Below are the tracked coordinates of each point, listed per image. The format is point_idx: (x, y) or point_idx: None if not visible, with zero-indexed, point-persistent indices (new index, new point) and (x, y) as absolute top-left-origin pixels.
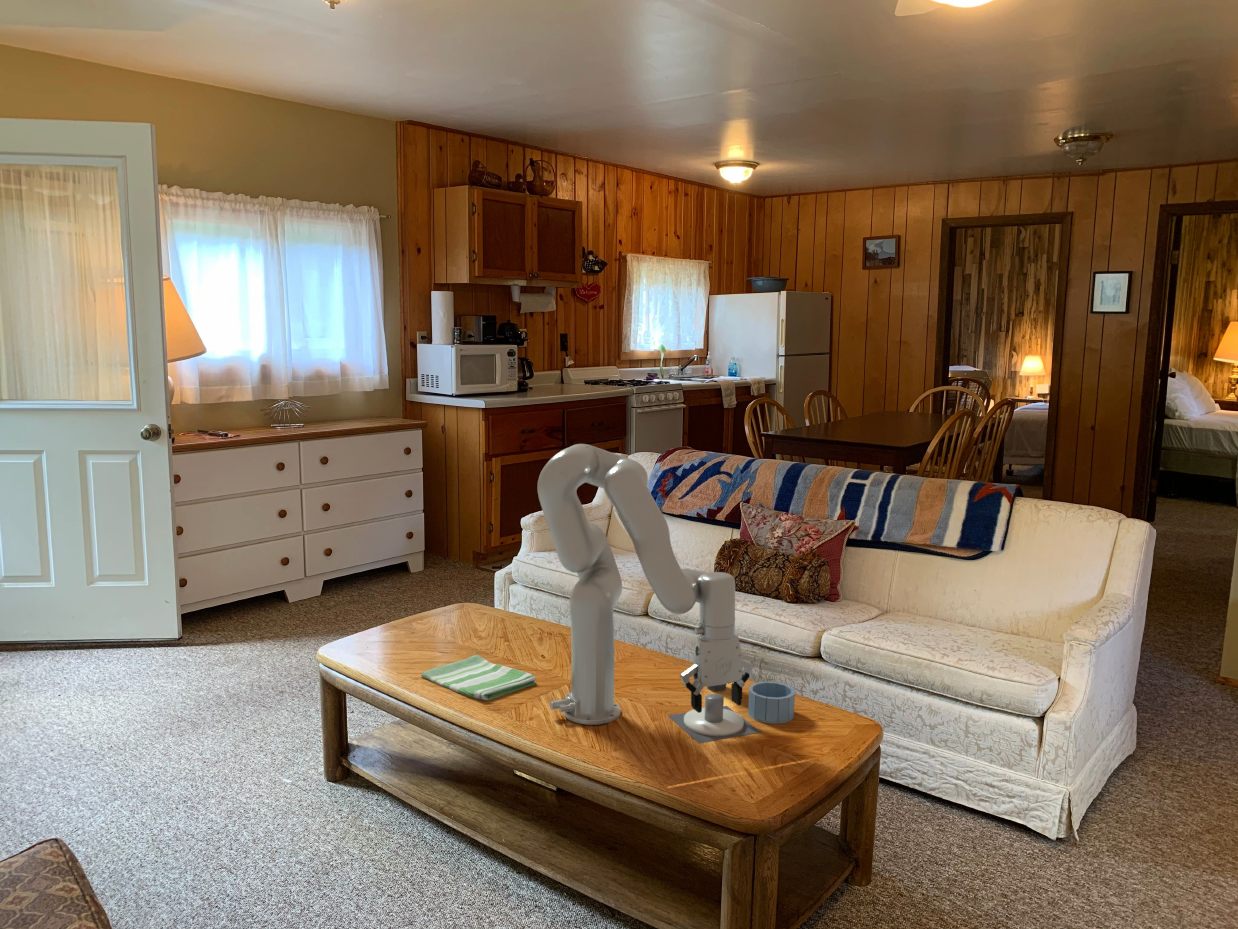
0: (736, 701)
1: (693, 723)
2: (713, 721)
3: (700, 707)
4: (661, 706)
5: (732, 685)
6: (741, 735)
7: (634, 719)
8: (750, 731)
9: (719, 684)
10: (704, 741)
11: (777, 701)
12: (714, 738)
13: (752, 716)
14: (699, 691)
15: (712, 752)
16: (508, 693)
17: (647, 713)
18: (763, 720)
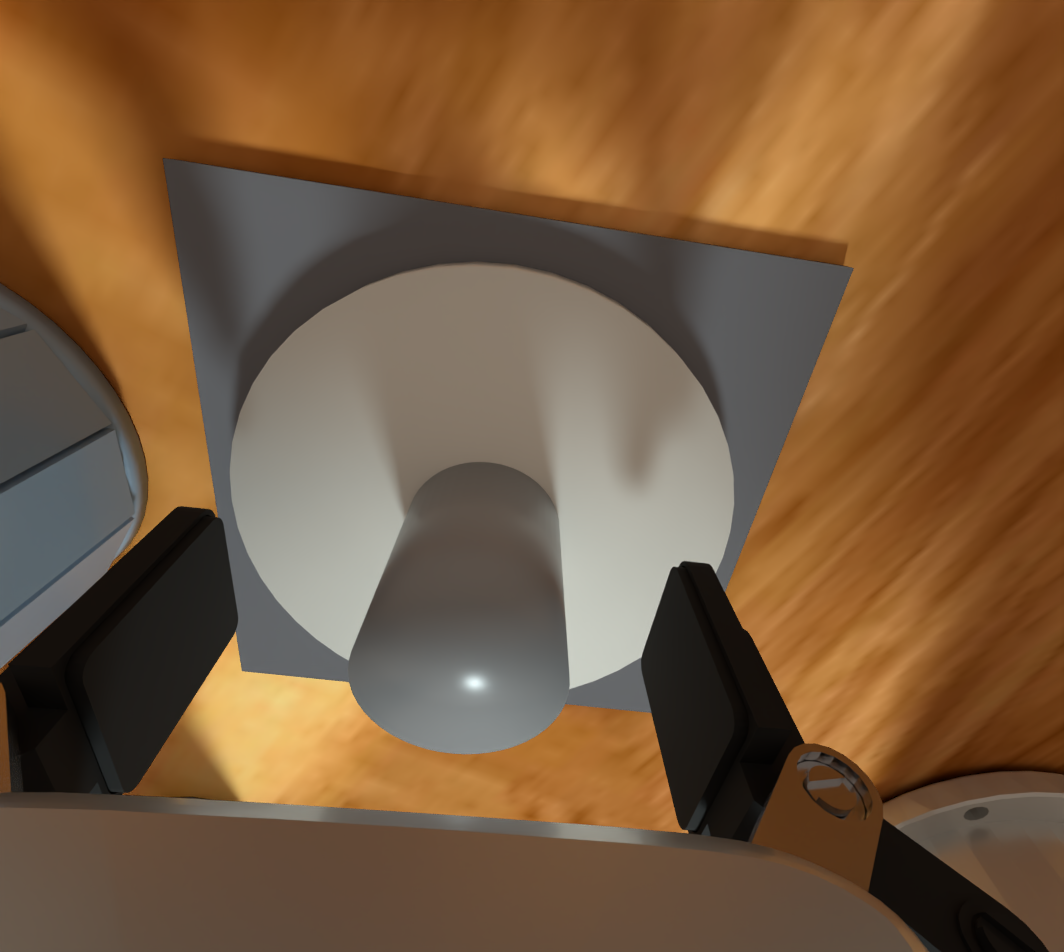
0: (210, 562)
1: (678, 540)
2: (529, 484)
3: (710, 595)
4: (602, 799)
5: (126, 776)
6: (399, 196)
7: (847, 751)
8: (267, 232)
9: (482, 828)
10: (788, 271)
11: None
12: (667, 278)
13: (123, 459)
14: (795, 793)
15: (875, 43)
16: None
17: None
18: (47, 348)
